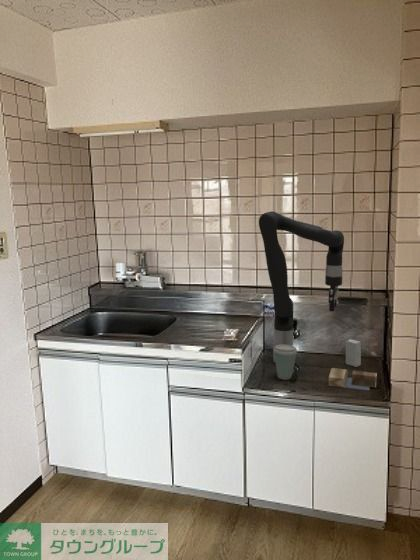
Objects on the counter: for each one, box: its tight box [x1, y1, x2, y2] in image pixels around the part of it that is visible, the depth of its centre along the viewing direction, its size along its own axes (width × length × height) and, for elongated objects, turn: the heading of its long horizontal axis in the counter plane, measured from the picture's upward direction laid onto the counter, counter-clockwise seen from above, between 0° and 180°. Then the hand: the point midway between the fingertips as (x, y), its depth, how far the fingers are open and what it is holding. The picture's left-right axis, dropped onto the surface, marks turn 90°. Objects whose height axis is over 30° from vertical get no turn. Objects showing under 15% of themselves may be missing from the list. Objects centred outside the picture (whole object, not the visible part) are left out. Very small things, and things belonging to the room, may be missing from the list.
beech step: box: [328, 367, 349, 388], centre depth 206 cm, size 7×11×4 cm, turn 159°
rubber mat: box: [345, 376, 371, 392], centre depth 203 cm, size 10×11×1 cm
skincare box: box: [345, 338, 362, 368], centre depth 224 cm, size 6×4×12 cm
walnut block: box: [351, 370, 378, 388], centre depth 202 cm, size 5×4×10 cm
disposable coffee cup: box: [274, 344, 298, 381], centre depth 211 cm, size 11×11×15 cm
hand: (332, 308), depth 214 cm, fingers open, 8 cm apart
